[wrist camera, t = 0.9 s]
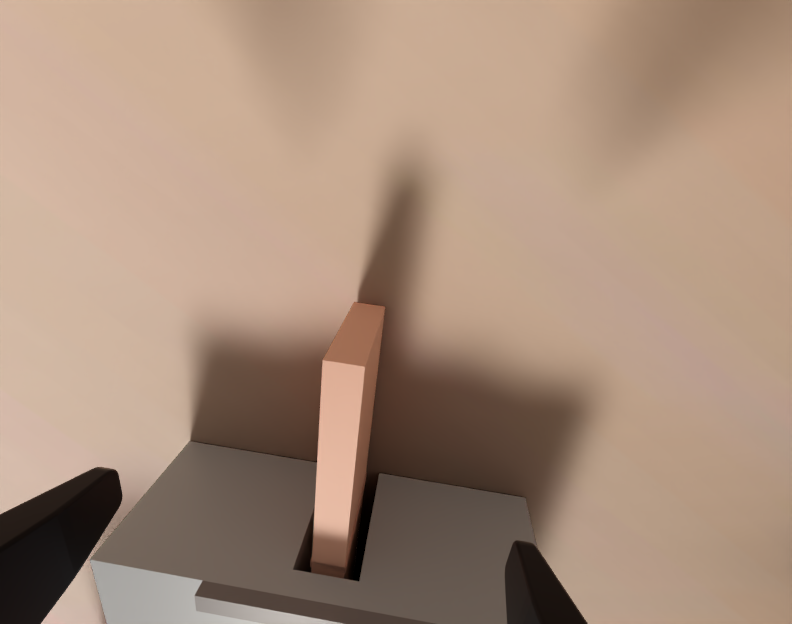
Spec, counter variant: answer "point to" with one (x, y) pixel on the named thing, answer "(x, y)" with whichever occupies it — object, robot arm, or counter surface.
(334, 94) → the counter surface
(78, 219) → the counter surface
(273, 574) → the notched grey box
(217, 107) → the counter surface
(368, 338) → the peach rectangular bar
